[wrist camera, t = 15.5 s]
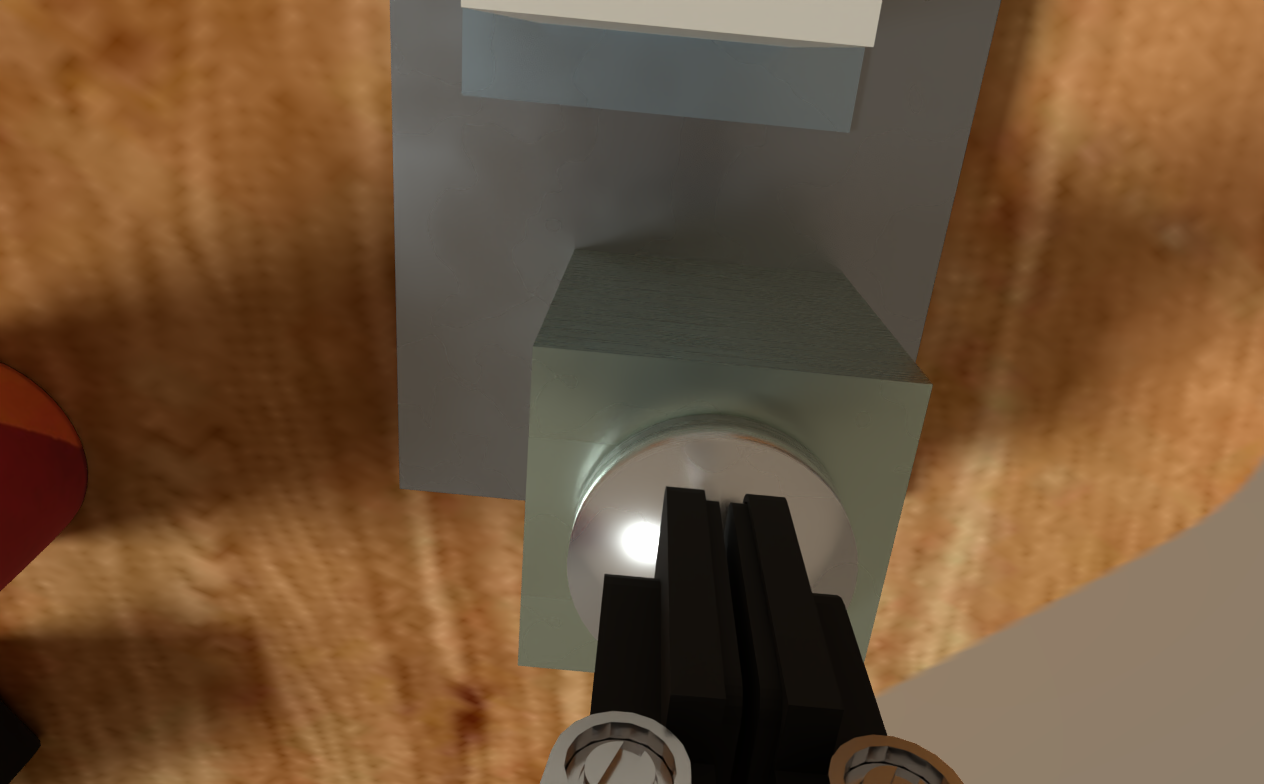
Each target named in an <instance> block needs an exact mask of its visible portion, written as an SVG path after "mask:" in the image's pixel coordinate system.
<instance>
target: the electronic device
mask: <svg viewBox="0 0 1264 784" xmlns="http://www.w3.org/2000/svg"><path fill="white" fill-rule="evenodd" d="M40 746H41V744H40V740H39V739H38V738H37V737H36V736H35V735H34V734H33V733H32V732H31V731H30V730H29V729H28V728H27V727H26V726H25V725H24V724H23V723H22V722H21V721H20V720H19V719H18V718H17V717H16V716H15V715H14V714H13V713H12V712H11V711H10V710H9V709H8V708H7V707H6V706H5V705H4V704H3V703H2V702H1V701H0V784H9V783H10V782H11V780H12V779H13V778H14V777H15V776H16V775H17V774H18V773H19V771H20V770H21V769H22V768H23V767H24V766H25V765H26V764H27V762H28V761H29V760H30V759H31V758H32V757H33V756H34V754H35V753H36V751H37V750H38V749H39V747H40Z"/></svg>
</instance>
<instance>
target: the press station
mask: <svg viewBox="0 0 1264 784" xmlns="http://www.w3.org/2000/svg"><path fill="white" fill-rule="evenodd" d="M1000 3H1001V0H882V4H881V10H880V15H879V21H878V26H877V31H876V37H875V42H874V47H782V46H772V45H762V44H751V43H741V42H731V41H720V40H710V39H700V38H689V37H679V36H669V35H658V34H648V33H638V32H628V31H617V30H607V29H597V28H586V27H576V26H566V25H555V24H545V23H537V22H532V21H527V20H522V19H517V18H513V17H508V16H503V15H498V14H493V13H488V12H483V11H478V10H473V9H468V8H463V7H461V0H390V29H391V79H392V128H393V178H394V228H395V278H396V327H397V377H398V427H399V476H400V489H410V490H420V491H431V492H441V493H452V494H462V495H473V496H483V497H494V498H504V499H515V500H525V501H526V502H525V524H524V545H523V567H522V588H521V610H520V631H519V652H518V665H519V666H530V667H540V668H551V669H562V670H572V671H583V672H593V673H594V672H595V662H596V652H597V642H598V641H597V640H596V639H595V638H594V637H593V636H592V635H591V633H590V632H589V630H588V629H587V627H586V626H585V625H584V623H583V622H582V620H581V618H580V616H579V614H578V612H577V610H576V608H575V606H574V603H573V600H572V597H571V593H570V590H569V584H568V577H567V557H568V550H569V543H570V538H571V532H572V527H573V522H574V516H575V511H576V507H577V504H578V501H579V497H580V494H581V492H582V490H583V488H584V486H585V484H586V482H587V480H588V478H589V477H590V475H591V474H592V472H593V471H594V469H595V468H596V466H597V465H598V464H599V463H600V462H601V461H602V460H603V459H604V458H605V456H606V455H607V454H608V453H609V452H611V451H612V450H613V449H614V448H615V447H617V446H618V445H619V444H620V443H621V442H623V441H624V440H626V439H628V438H629V437H631V436H632V435H634V434H635V433H637V432H639V431H641V430H643V429H645V428H648V427H650V426H652V425H654V424H657V423H660V422H663V421H666V420H669V419H674V418H679V417H684V416H688V415H700V414H723V415H732V416H738V417H744V418H748V419H751V420H755V421H758V422H762V423H764V424H767V425H769V426H771V427H774V428H776V429H779V430H780V431H782V432H784V433H785V434H787V435H789V436H791V437H792V438H794V439H795V440H797V441H798V442H799V443H800V444H802V445H803V446H804V447H806V448H807V449H808V450H809V451H810V452H811V453H812V454H813V455H814V456H815V457H816V458H817V459H818V460H819V461H820V463H821V464H822V465H823V467H824V468H825V470H826V471H827V472H828V474H829V475H830V477H831V479H832V481H833V483H834V485H835V487H836V489H837V491H838V494H839V496H840V499H841V501H842V504H843V506H844V509H845V511H846V514H847V516H848V519H849V522H850V524H851V527H852V530H853V533H854V536H855V540H856V546H857V552H858V574H857V581H856V587H855V590H854V593H853V597H852V600H851V603H850V605H849V607H848V609H847V613H848V616H849V619H850V622H851V625H852V628H853V631H854V634H855V637H856V641H857V644H858V647H859V650H860V653H861V656H862V659H863V662H864V661H865V657H866V652H867V648H868V644H869V640H870V636H871V632H872V628H873V624H874V620H875V616H876V612H877V608H878V604H879V600H880V596H881V592H882V588H883V584H884V580H885V576H886V572H887V568H888V564H889V560H890V556H891V552H892V548H893V544H894V539H895V535H896V531H897V527H898V523H899V519H900V515H901V511H902V507H903V503H904V499H905V495H906V491H907V487H908V483H909V479H910V475H911V471H912V467H913V463H914V459H915V455H916V451H917V447H918V443H919V439H920V435H921V431H922V426H923V422H924V418H925V414H926V410H927V406H928V402H929V398H930V394H931V390H932V386H933V384H932V383H931V382H930V380H929V379H928V378H927V377H926V375H925V374H924V373H923V372H922V371H921V369H920V368H919V367H918V366H917V364H916V363H915V362H916V358H917V354H918V350H919V345H920V341H921V337H922V333H923V329H924V324H925V320H926V316H927V312H928V307H929V303H930V299H931V295H932V290H933V286H934V282H935V278H936V274H937V269H938V265H939V261H940V257H941V252H942V248H943V244H944V240H945V235H946V231H947V227H948V223H949V219H950V214H951V210H952V206H953V202H954V197H955V193H956V189H957V185H958V180H959V176H960V172H961V168H962V164H963V159H964V155H965V151H966V147H967V142H968V138H969V134H970V130H971V126H972V121H973V117H974V113H975V109H976V104H977V100H978V96H979V92H980V87H981V83H982V79H983V75H984V71H985V66H986V62H987V58H988V54H989V49H990V45H991V41H992V37H993V32H994V28H995V24H996V20H997V16H998V11H999V7H1000Z"/></svg>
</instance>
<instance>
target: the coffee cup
mask: <svg viewBox="0 0 1264 784" xmlns="http://www.w3.org/2000/svg"><path fill="white" fill-rule="evenodd" d="M87 482H88V470H87V462H86V457H85V453H84V450H83V447H82V444H81V441H80V439H79V437H78V435H77V433H76V431H75V429H74V427H73V425H72V424H71V422H70V420H69V419H68V417H67V416H66V415H65V413H64V412H63V411H62V409H61V408H60V407H59V406H58V405H57V403H56V402H55V401H54V400H53V399H52V398H51V397H50V396H49V395H48V394H47V393H46V392H45V391H44V390H43V389H41V388H40V387H39V386H38V385H37V384H35V383H34V382H33V381H31V380H30V379H29V378H27V377H26V376H24V375H23V374H21V373H20V372H18V371H16V370H15V369H13V368H11V367H9V366H7V365H5V364H3V363H1V362H0V591H1V590H2V589H3V588H4V587H5V586H6V585H7V584H9V583H10V582H11V581H12V580H13V579H14V578H15V577H16V576H17V575H18V574H19V573H20V572H21V571H22V570H23V569H24V568H25V567H26V566H27V565H28V564H29V563H30V562H31V561H33V560H34V559H35V558H36V557H37V556H38V555H39V554H40V553H41V552H42V551H43V550H44V549H45V548H46V547H47V546H48V545H49V544H50V543H51V542H52V541H53V540H54V539H55V538H56V537H57V536H58V535H59V534H60V533H61V531H62V530H63V529H64V528H65V527H66V526H67V525H68V524H69V523H70V522H71V520H72V519H73V518H74V516H75V515H76V513H77V512H78V510H79V509H80V507H81V505H82V503H83V500H84V497H85V494H86V489H87Z"/></svg>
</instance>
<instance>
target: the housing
mask: <svg viewBox="0 0 1264 784" xmlns="http://www.w3.org/2000/svg"><path fill="white" fill-rule="evenodd" d="M881 4H882V0H461V7H463V8H468V9H473V10H478V11H483V12H488V13H493V14H498V15H503V16H508V17H513V18H517V19H522V20H527V21H532V22H537V23H545V24H555V25H566V26H576V27H586V28H597V29H607V30H617V31H628V32H638V33H648V34H658V35H669V36H679V37H689V38H700V39H710V40H720V41H731V42H741V43H751V44H762V45H772V46H782V47H874V42H875V37H876V31H877V26H878V21H879V15H880V10H881Z"/></svg>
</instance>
